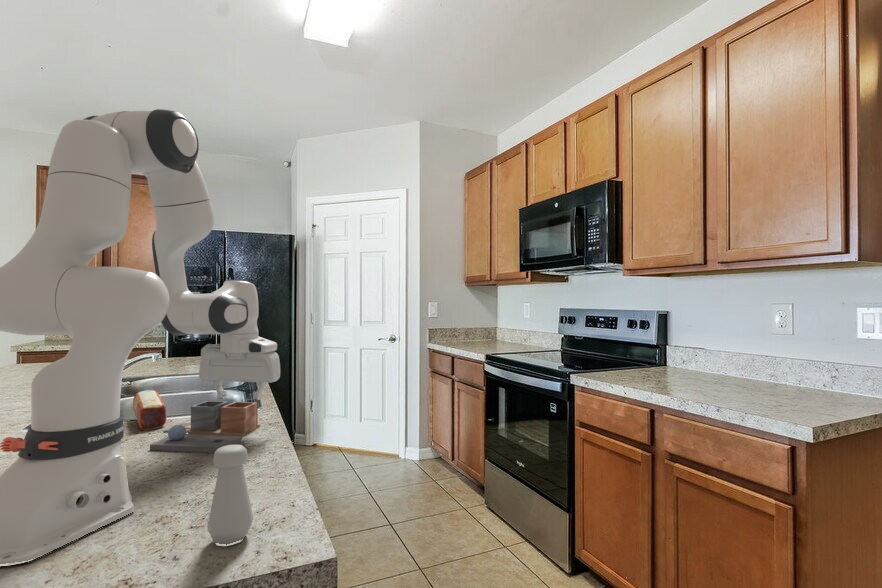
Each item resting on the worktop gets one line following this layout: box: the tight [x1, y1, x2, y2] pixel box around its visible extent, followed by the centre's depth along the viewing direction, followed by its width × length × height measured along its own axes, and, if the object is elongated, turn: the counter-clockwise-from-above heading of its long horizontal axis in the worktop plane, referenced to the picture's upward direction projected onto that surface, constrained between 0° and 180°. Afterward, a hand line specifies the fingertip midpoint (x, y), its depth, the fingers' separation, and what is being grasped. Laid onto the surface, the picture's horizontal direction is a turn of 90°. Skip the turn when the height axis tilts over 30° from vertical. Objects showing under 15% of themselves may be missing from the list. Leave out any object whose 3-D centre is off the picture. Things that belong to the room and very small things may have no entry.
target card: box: [163, 422, 191, 434], centre depth 117 cm, size 7×6×1 cm
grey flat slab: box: [149, 433, 243, 454], centre depth 104 cm, size 8×17×1 cm, turn 83°
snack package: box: [132, 389, 168, 431], centre depth 125 cm, size 21×7×7 cm, turn 37°
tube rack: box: [187, 400, 261, 437], centre depth 115 cm, size 8×14×7 cm, turn 83°
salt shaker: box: [206, 444, 254, 545], centre depth 64 cm, size 6×6×13 cm
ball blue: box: [167, 424, 187, 441], centre depth 104 cm, size 4×4×4 cm
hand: (239, 399), depth 115 cm, fingers open, 8 cm apart
